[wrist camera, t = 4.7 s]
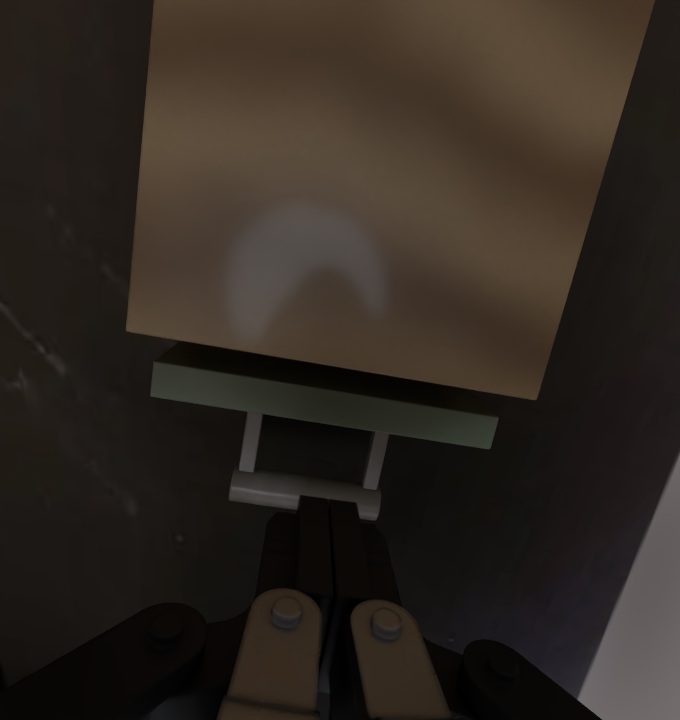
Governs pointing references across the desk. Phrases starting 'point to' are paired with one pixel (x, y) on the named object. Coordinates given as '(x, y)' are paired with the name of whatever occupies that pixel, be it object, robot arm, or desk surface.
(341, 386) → the drawer
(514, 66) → the cabinet
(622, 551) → the desk surface
